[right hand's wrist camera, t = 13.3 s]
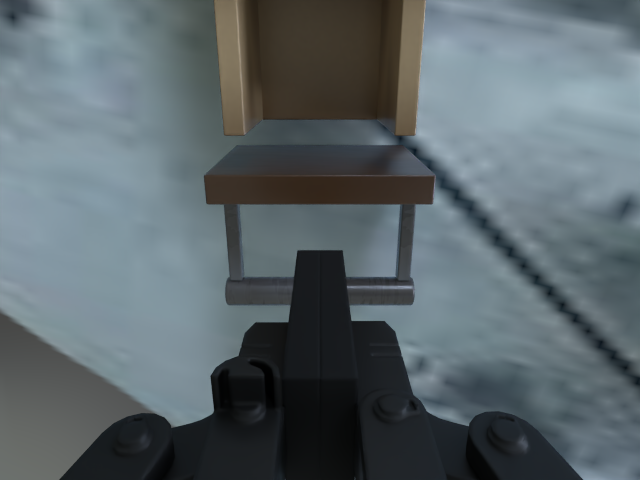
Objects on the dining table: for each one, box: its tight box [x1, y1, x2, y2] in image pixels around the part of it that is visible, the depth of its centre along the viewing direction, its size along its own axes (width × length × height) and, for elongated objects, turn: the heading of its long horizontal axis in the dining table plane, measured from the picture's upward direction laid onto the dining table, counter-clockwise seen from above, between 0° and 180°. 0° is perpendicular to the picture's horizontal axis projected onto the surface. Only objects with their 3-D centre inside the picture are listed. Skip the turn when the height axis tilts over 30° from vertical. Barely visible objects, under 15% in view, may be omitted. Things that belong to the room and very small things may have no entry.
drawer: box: [204, 0, 436, 305], centre depth 18 cm, size 25×9×7 cm, turn 0°
